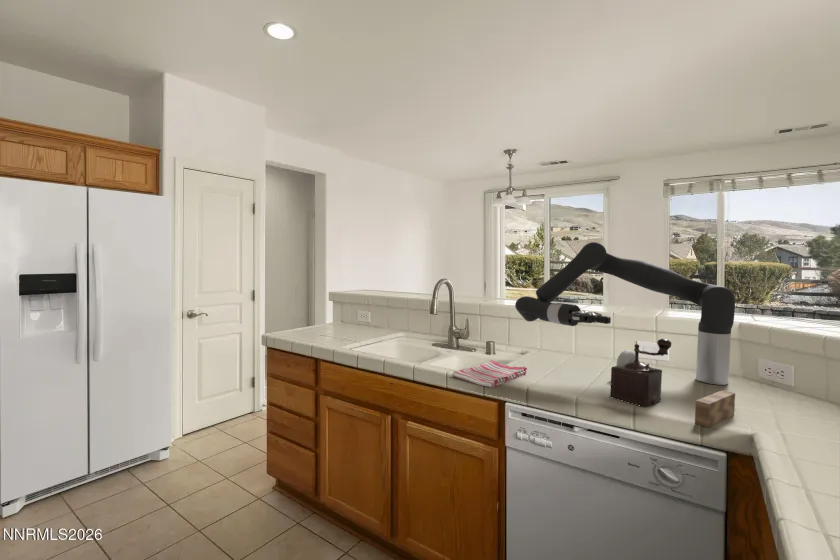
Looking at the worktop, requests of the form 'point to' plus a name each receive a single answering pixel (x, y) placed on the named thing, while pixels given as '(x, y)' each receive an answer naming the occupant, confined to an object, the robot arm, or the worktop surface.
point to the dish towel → (490, 374)
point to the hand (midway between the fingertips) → (609, 320)
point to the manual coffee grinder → (638, 379)
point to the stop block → (714, 408)
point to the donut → (625, 357)
